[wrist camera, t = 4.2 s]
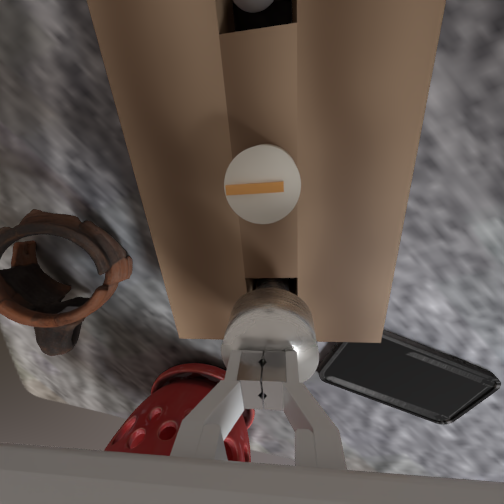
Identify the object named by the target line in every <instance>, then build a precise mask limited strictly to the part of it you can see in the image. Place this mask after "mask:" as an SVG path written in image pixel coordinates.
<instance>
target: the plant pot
mask: <svg viewBox="0 0 504 504" xmlns="http://www.w3.org/2000/svg"><path fill="white" fill-rule="evenodd" d="M225 374H226V371H225V370H223V369H221V368H218V367H215V366H212V365H208V364H202V363H187V364H181V365H177V366H174V367H172V368H170V369H168V370H166V371H165V372H163V373H162V374H160V375H159V377H158V378H157V379H156V380H155V382H154V384H153V386H152V390H151V395H150V396H149V397H148V398H147V399H146V400H145V401H143V402H142V403H141V404H140V405H139V406H138V407H137V408H136V409H135V411H134V412H133V413H132V414H131V415H130V416H129V417H128V419H127V420H126V421H125V423H124V424H123V425H122V427H121V428H120V429H119V430H118V432H117V433H116V434H115V436H114V437H113V438H112V440H111V441H110V443H109V444H108V446H107V447H106V448H105V450H104V451H113V452H126V453H138V454H151V455H164V456H170V454H171V451H172V448H173V445H174V442H175V439H176V437H177V434H178V431H179V428H180V425H181V422H182V420H183V419H184V418H185V417H186V416H187V415H188V414H189V413H190V412H191V411H192V410H193V409H194V408H195V407H196V406H197V405H198V404H199V403H200V402H201V400H202V399H203V398H204V397H205V396H206V395H207V394H208V393H209V392H210V391H211V390H212V389H213V388H214V387H215V386H216V385H217V384H218V383H219V382H220V381H221V380H224V379H225ZM254 414H255V410H254V409H244V411H243V413H242V414H241V416H240V417H239V419H238V420H237V422H236V423H235V425H234V426H233V428H232V429H231V431H230V432H229V434H228V435H227V437H226V438H225V440H224V446H225V450H226V455H227V459H228V461H240V462H251V456H250V445H249V438H248V432H247V429H248V428H249V427H250V426H251V424H252V422H253V419H254Z"/></svg>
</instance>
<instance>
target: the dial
mask: <svg viewBox="0 0 504 504" xmlns="http://www.w3.org/2000/svg"><path fill="white" fill-rule="evenodd" d="M224 191H225V195H226V198H227V201H228V203H229V205H230V206H231V208H232V209H233V211H234V212H235V213H236V214H237V215H239V216H240V217H241V218H243V219H245V220H246V221H249V222H252V223H256V224H270V223H274V222H276V221H279V220H281V219H282V218H284V217H285V216H287V215H288V214H289V213H290V212H291V211H292V209H293V208H294V207H295V205H296V203H297V201H298V199H299V196H300V191H301V179H300V174H299V171H298V169H297V167H296V165H295V163H294V161H293V159H292V158H291V156H290V155H289V154H288V153H287V152H286V151H285V150H284V149H282V148H280V147H278V146H275V145H272V144H261V145H257V146H254V147H251V148H248V149H246V150H244V151H242V152H241V153H239V154H238V155H237V156H236V157H235V158H234V159H233V160H232V162H231V163H230V165H229V167H228V169H227V171H226V174H225V179H224Z"/></svg>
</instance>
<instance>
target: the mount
mask: <svg viewBox="0 0 504 504" xmlns="http://www.w3.org/2000/svg"><path fill="white" fill-rule="evenodd" d="M87 3H88V7H89V11H90V14H91V18H92V21H93V25H94V29H95V32H96V36H97V40H98V43H99V47H100V51H101V54H102V58H103V62H104V65H105V69H106V72H107V76H108V80H109V83H110V87H111V91H112V94H113V98H114V102H115V105H116V109H117V113H118V116H119V120H120V123H121V127H122V131H123V134H124V138H125V142H126V145H127V149H128V153H129V156H130V160H131V163H132V167H133V171H134V174H135V178H136V182H137V185H138V189H139V193H140V196H141V200H142V204H143V207H144V211H145V214H146V218H147V222H148V225H149V229H150V233H151V236H152V240H153V244H154V247H155V251H156V255H157V258H158V262H159V265H160V269H161V273H162V276H163V280H164V284H165V287H166V291H167V295H168V298H169V302H170V305H171V309H172V313H173V316H174V320H175V324H176V327H177V331H178V335H179V338H182V339H224V335H225V332H226V329H227V325H228V322H229V318H230V315H231V311H232V308H233V306H234V304H235V303H236V302H237V300H238V299H239V298H241V297H242V296H243V295H245V294H246V293H248V292H250V291H253V290H256V289H257V283H258V280H256V278H294V279H289V292H291V293H293V294H295V295H297V296H298V297H299V298H301V299H302V300H303V301H304V302H305V303H306V304H307V306H308V307H309V309H310V311H311V313H312V317H313V323H314V329H315V334H316V340H317V341H318V342H363V343H381V339H382V334H383V328H384V323H385V318H386V313H387V307H388V302H389V297H390V292H391V286H392V281H393V276H394V271H395V265H396V260H397V255H398V250H399V244H400V239H401V234H402V229H403V223H404V218H405V213H406V208H407V202H408V197H409V192H410V187H411V181H412V176H413V171H414V166H415V160H416V155H417V150H418V145H419V139H420V134H421V129H422V124H423V119H424V113H425V108H426V103H427V98H428V92H429V87H430V82H431V77H432V71H433V66H434V61H435V56H436V50H437V45H438V40H439V35H440V29H441V24H442V19H443V14H444V8H445V3H446V0H292V23H291V24H284V25H278V26H271V27H265V28H258V29H252V30H245V31H238V32H235V23H234V12H233V0H87ZM261 144H272V145H275V146H278V147H280V148H282V149H284V150H285V151H286V152H287V153H288V154H289V155H290V156H291V158H292V159H293V161H294V163H295V165H296V167H297V169H298V171H299V174H300V179H301V191H300V196H299V199H298V201H297V203H296V205H295V207H294V208H293V209H292V211H291V212H290V213H289V214H288V215H287V216H285V217H284V218H282V219H281V220H279V221H276V222H274V223H270V224H256V223H252V222H249V221H246V220H245V219H243V218H241V217H240V216H239V215H237V214H236V213H235V212H234V211H233V209H232V208H231V206H230V205H229V203H228V201H227V198H226V195H225V191H224V179H225V174H226V171H227V169H228V167H229V165H230V163H231V162H232V160H233V159H234V158H235V157H236V156H237V155H238V154H239V153H241V152H242V151H244V150H246V149H248V148H251V147H254V146H257V145H261Z"/></svg>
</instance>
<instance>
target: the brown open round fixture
mask: <svg viewBox="0 0 504 504" xmlns="http://www.w3.org/2000/svg"><path fill="white" fill-rule="evenodd" d="M38 234H48V235H55V236H59V237H63V238H65V239H68V240H70V241H72V242H74V243H75V244H77V245H79V246H80V247H82V248H83V249H84V250H85V251H86V252H87V253H88V254H89V255H90V256H91V258H92V259H93V261H94V263H95V265H96V267H97V271H98V274H99V275H102V274H104V273H105V280H104V283H103V285H102V286H100V287H98V288H97V289H96V290H95V292H94V293H93V295H92V297H91V298H83V297H76V298H74V299H70V300H67V301H64V302H61V301H62V299H63V298H64V297H65V295H66V294H67V293H68V292H69V291H70V290H71V286H69V285H65V284H62V283H60V282H57V281H55V280H54V279H52V278H51V277H50V276H49V275H47V274H46V273H45V272H44V271H43V270H42V269H41V268H40V266H39V265H38V262H37V258H36V242H35V241H33V240H32V241H25V242H16V241H18V240H19V239H21V238H23V237H27V236H31V235H38ZM14 242H16V243H15V244H14V246H13V256H12V261H11V268H10V269H3V270H0V314H2V315H4V316H5V317H7V318H8V319H11V320H13V321H15V322H17V323H20V324H24V325H29V326H34V329H35V334H36V341H37V343H38V345H39V347H40V348H41V350H42V352H43V353H45V354H47V355H49V356H55V355H62V354H65V353H67V352H68V351H70V350H72V349H73V348H74V346H75V344H76V343H77V340H78V337H79V333H80V329H81V324H82V321H84V319H85V317H87V316H88V315H90V314H91V313H93V312H95V311H96V310H97V309H99V308H100V307H101V306H102V305H103V304H104V303H105V302H106V301H107V300H109V299H110V297H111V296H112V295H113V293H114V292H115V290H116V288H117V286H118V283H119V282H121V281H123V280H125V279H129V278H130V275H131V274H132V263H133V262H132V258H130V256H126V255H127V254H126V251H125V250H124V249H123V248H122V246H121V245H120V244H119V243H118V242H117V241H116V240H115V239H114V238H112V237H111V236H110V235H109V234H108V233H107V232H106V231H104V230H103V229H102V228H100V227H98V226H97V225H95V224H94V223H93V222H91V221H88V220H86V221H84V222H81V221H80V220H79V218H78V217H76V216H72V215H66V214H53V213H48V212H43V211H41V210H36V209H33V210H32V211H31V212H30V213H29V214H27V215H26V216H25V217H24V218H23V219H22V221H21V222H20V224H19V225H17V226H15V227H14V228H10V227H3V228H1V229H0V258H1V256H2V254H3V253H4V252H5V250H6V249H7V248H8V247H9V246H10V245H11V244H13V243H14Z"/></svg>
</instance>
